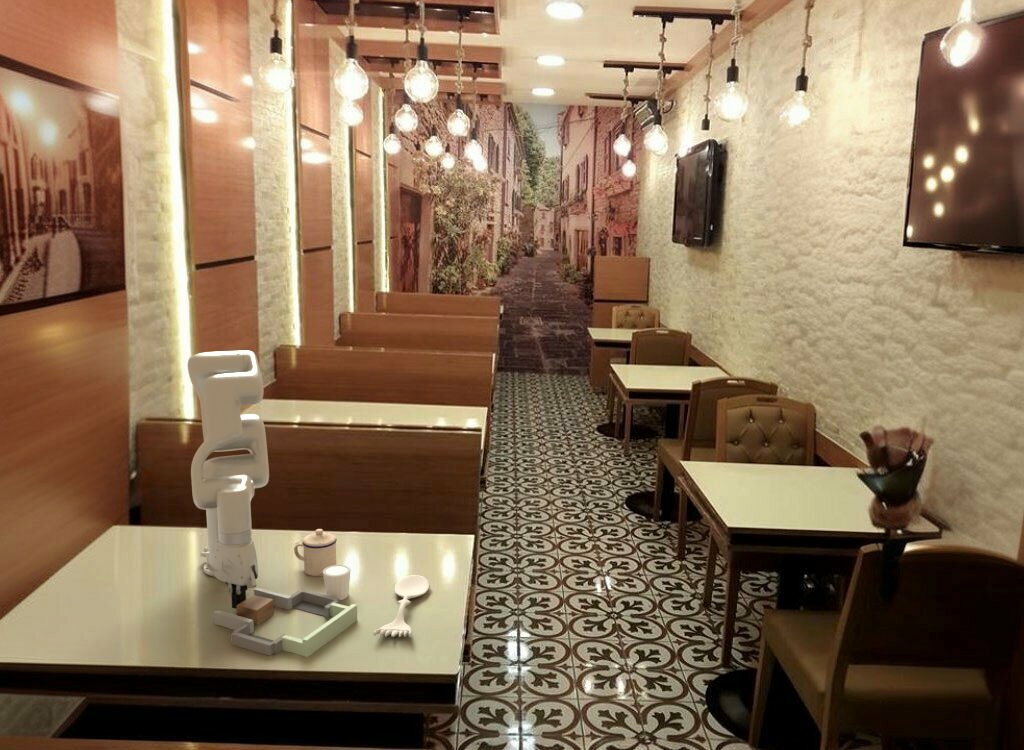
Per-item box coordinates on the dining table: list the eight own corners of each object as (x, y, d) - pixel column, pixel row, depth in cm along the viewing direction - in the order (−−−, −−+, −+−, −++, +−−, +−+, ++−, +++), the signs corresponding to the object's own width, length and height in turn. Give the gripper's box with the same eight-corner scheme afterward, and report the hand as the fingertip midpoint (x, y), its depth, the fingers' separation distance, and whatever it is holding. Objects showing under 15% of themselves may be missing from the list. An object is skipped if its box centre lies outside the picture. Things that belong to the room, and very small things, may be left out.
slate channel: (208, 627, 184) (207, 611, 183) (263, 595, 200) (262, 580, 200) (307, 657, 172) (306, 640, 171) (357, 620, 188) (356, 604, 188)
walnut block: (237, 620, 188) (236, 605, 187) (253, 609, 193) (253, 594, 192) (257, 625, 185) (257, 610, 185) (273, 614, 191) (273, 599, 190)
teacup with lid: (342, 564, 219) (341, 525, 217) (329, 578, 210) (328, 537, 208) (302, 560, 221) (301, 521, 219) (287, 574, 212) (286, 533, 210)
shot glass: (344, 603, 197) (343, 577, 195) (319, 600, 198) (318, 574, 197) (355, 591, 203) (354, 565, 202) (330, 588, 205) (329, 563, 203)
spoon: (372, 645, 178) (372, 631, 177) (398, 582, 209) (398, 570, 208) (411, 647, 177) (411, 633, 177) (432, 584, 209) (432, 571, 208)
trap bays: (229, 643, 177) (229, 633, 177) (301, 597, 199) (301, 588, 199) (272, 656, 172) (271, 646, 171) (341, 608, 194) (341, 598, 194)
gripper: (200, 535, 188) (204, 606, 191) (247, 546, 182) (251, 620, 185) (223, 525, 194) (227, 594, 198) (270, 535, 188) (273, 606, 192)
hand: (239, 606), depth 191 cm, fingers closed
